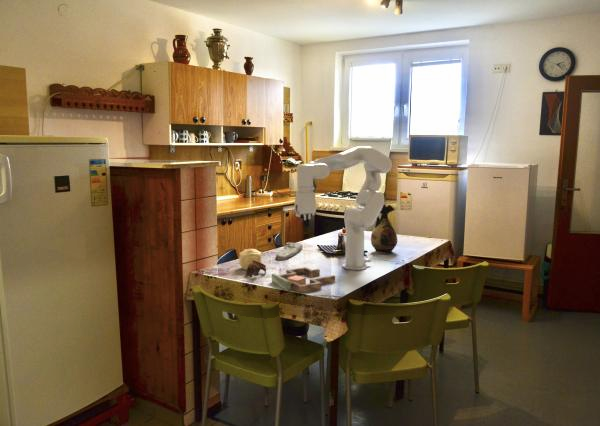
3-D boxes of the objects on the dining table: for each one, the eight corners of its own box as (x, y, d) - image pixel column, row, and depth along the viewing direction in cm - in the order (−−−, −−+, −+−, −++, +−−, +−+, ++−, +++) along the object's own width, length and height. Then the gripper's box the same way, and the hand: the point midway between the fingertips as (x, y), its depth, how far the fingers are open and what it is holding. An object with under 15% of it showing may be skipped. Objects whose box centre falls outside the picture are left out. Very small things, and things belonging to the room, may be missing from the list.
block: (295, 283, 229) (295, 275, 228) (305, 286, 225) (305, 277, 224) (287, 286, 224) (287, 278, 224) (297, 289, 220) (297, 280, 220)
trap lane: (311, 272, 248) (311, 264, 247) (342, 285, 225) (342, 276, 224) (266, 279, 235) (266, 271, 235) (293, 294, 212) (293, 285, 212)
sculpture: (240, 272, 248) (239, 251, 246) (238, 266, 259) (238, 246, 258) (262, 271, 250) (262, 250, 248) (260, 265, 261) (259, 245, 260)
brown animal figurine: (243, 274, 246) (250, 259, 248) (260, 282, 248) (267, 266, 249) (246, 274, 234) (253, 258, 236) (264, 282, 236) (271, 266, 238)
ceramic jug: (395, 249, 298) (396, 200, 294) (398, 255, 283) (399, 203, 279) (367, 249, 300) (368, 200, 295) (368, 255, 285) (369, 203, 280)
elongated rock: (271, 262, 274) (288, 264, 271) (271, 253, 273) (288, 255, 270) (290, 246, 307) (305, 248, 304) (290, 238, 306) (306, 239, 303)
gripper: (313, 188, 242) (314, 225, 245) (287, 190, 234) (288, 228, 237) (322, 189, 236) (323, 227, 238) (296, 191, 228) (297, 230, 230)
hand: (305, 227), depth 238 cm, fingers closed
